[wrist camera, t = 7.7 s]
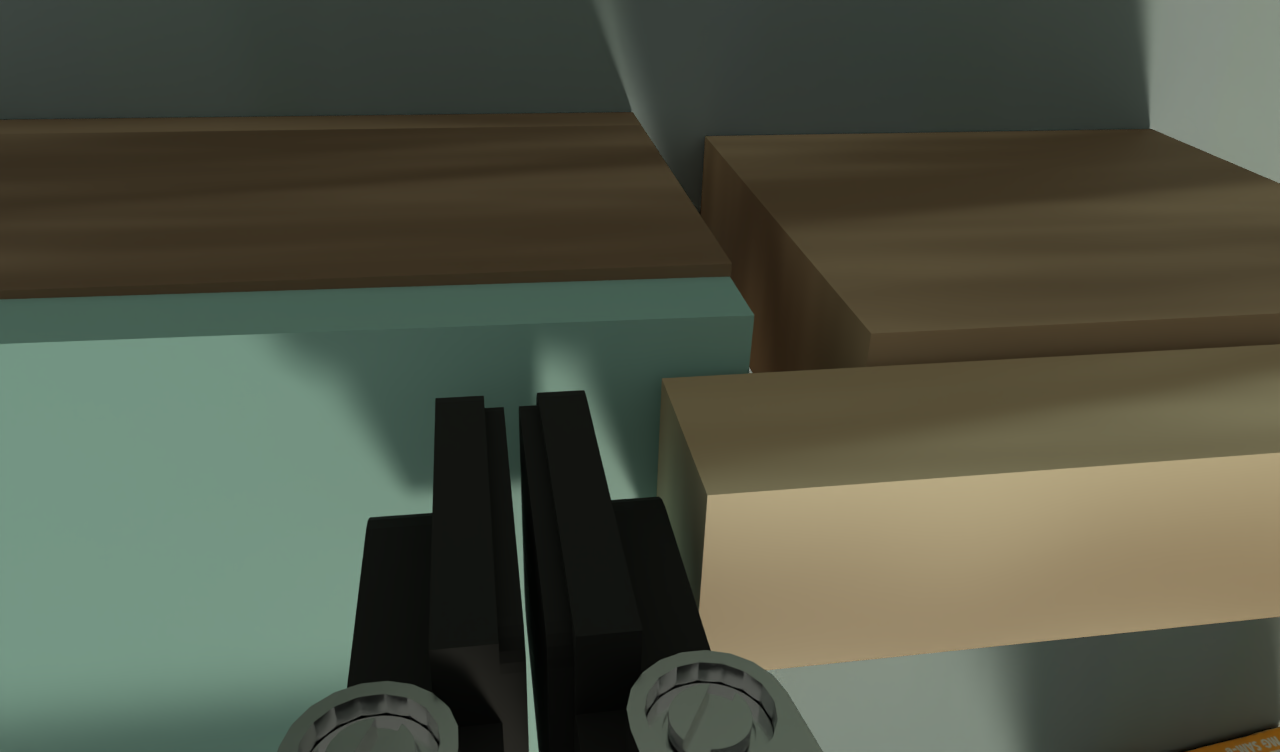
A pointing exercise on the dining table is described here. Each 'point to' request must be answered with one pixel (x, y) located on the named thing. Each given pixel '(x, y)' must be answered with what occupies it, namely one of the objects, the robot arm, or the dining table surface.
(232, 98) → the dining table surface
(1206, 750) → the supplement box
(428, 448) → the lid
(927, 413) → the tan wooden bar
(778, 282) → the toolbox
